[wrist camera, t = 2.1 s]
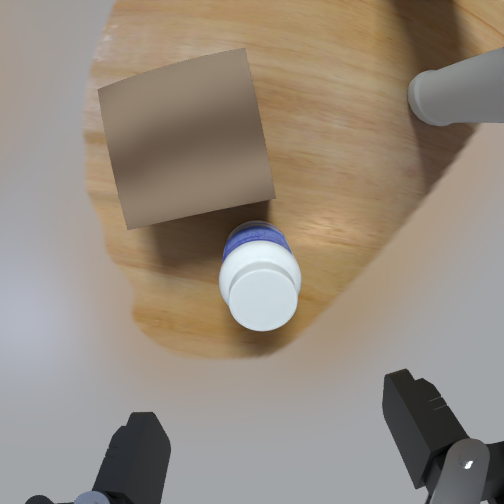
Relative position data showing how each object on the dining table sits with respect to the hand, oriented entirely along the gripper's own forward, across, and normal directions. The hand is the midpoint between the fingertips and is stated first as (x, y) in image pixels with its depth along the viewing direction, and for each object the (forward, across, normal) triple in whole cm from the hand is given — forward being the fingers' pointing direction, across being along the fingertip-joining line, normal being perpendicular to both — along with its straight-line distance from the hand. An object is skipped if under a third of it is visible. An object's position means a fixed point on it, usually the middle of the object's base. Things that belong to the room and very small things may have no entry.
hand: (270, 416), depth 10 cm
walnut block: (+18, +3, -10) cm, 21 cm away
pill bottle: (+19, 0, 0) cm, 19 cm away
